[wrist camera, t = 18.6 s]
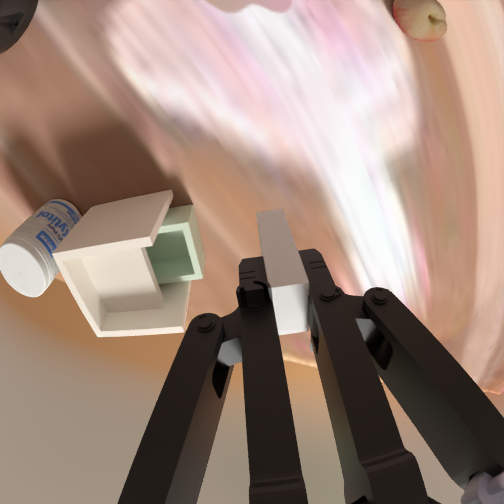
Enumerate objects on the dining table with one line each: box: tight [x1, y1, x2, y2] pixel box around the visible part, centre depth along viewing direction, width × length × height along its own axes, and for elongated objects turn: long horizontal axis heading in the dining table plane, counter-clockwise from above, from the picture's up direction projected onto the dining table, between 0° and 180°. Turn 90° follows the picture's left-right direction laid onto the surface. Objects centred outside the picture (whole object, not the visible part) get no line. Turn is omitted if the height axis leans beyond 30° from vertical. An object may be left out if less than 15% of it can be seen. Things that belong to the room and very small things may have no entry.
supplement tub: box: [0, 199, 82, 297], centre depth 37 cm, size 10×10×15 cm
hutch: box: [52, 190, 192, 337], centre depth 41 cm, size 15×14×14 cm
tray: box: [145, 204, 206, 284], centre depth 44 cm, size 10×14×6 cm
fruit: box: [393, 0, 447, 42], centre depth 25 cm, size 8×8×8 cm
